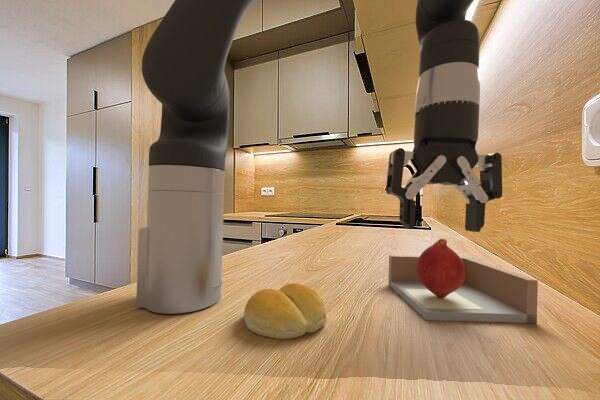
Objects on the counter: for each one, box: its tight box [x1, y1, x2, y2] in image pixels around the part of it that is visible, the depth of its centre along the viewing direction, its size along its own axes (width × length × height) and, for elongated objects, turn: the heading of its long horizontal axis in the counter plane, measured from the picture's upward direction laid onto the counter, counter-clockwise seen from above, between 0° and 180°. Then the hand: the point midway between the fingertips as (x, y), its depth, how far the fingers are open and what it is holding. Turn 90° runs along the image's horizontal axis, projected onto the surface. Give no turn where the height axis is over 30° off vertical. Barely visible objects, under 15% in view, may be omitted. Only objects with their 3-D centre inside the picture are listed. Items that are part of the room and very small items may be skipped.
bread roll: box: [243, 283, 328, 340], centre depth 29 cm, size 8×9×4 cm
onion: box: [416, 237, 466, 298], centre depth 35 cm, size 6×6×8 cm
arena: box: [387, 254, 539, 324], centre depth 37 cm, size 13×13×5 cm
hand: (440, 229), depth 35 cm, fingers open, 8 cm apart
